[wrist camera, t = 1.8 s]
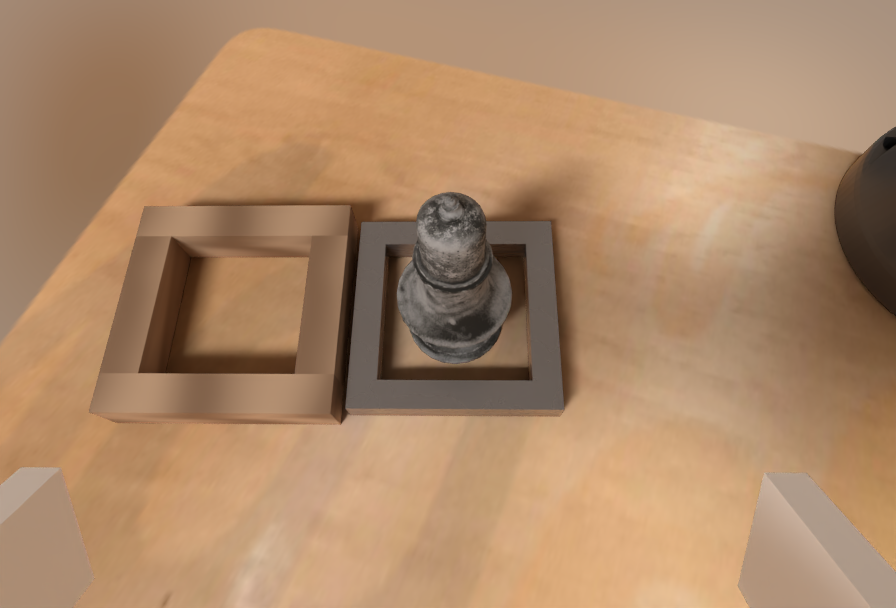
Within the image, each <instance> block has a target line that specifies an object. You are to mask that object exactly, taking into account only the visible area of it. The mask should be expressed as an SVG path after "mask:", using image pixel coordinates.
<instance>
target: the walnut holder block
mask: <svg viewBox="0 0 896 608" xmlns="http://www.w3.org/2000/svg"><path fill="white" fill-rule="evenodd" d="M357 236H358V226H357V223H356V220H355V217H354V214H353V211H352V208H351V205H292V206H144V210H143V213H142V217H141V221H140V224H139V228H138V232H137V235H136V239H135V243H134V246H133V250H132V254H131V257H130V261H129V265H128V269H127V272H126V276H125V280H124V283H123V287H122V291H121V294H120V298H119V302H118V305H117V309H116V313H115V317H114V320H113V324H112V328H111V331H110V335H109V339H108V342H107V346H106V350H105V353H104V357H103V361H102V364H101V368H100V372H99V376H98V379H97V383H96V387H95V390H94V394H93V398H92V401H91V405H90V409H89V413H92V414H94V415H97V416H100V417H103V418H105V419H108V420H111V421H113V422H116V423H204V424H341V416H342V404H343V393H344V382H345V371H346V360H347V348H348V337H349V326H350V315H351V304H352V292H353V281H354V270H355V259H356V247H357ZM191 257H309V263H308V271H307V279H306V287H305V295H304V303H303V311H302V319H301V327H300V335H299V342H298V350H297V358H296V366H295V374H179V373H165V372H166V368H167V363H168V359H169V354H170V349H171V345H172V340H173V336H174V331H175V327H176V322H177V318H178V313H179V309H180V304H181V300H182V295H183V291H184V286H185V282H186V277H187V273H188V268H189V264H190V259H191Z"/></svg>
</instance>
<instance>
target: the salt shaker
mask: <svg viewBox="0 0 896 608" xmlns="http://www.w3.org/2000/svg"><path fill="white" fill-rule="evenodd" d="M486 227H487V224H486V218H485V215H484V212H483V210H482V209H481V207H480V205H479V204H478V203H477V202H476V201H475V200H473V199H472V198H470V197H469V196H466V195H464V194H461V193H454V192H448V193H441V194H438V195H435V196H433V197H431V198H430V199H428V200H427V201H426V202H425V203H424V204H423V205H422V206H421V208H420V210H419V212H418V215H417V220H416V229H417V236H418V240H417V242H416V244H415V246H414V250H413V255H412V259H413V260H412V261H411V262H410V263H409V264H408V265H407V266H406V268H405V270H404V272H403V274H402V275H401V277H400V279H399V284H398V289H397V302H398V308H399V311H400V313H401V316H402V318H403V321H404V322H405V323H406V325H407V326H408V327H409V328H410V332H411V334H412V337H413V339H414V341H415V343H416V344H417V345H418V347H419V348H420V349H421V350H422V351H423V352H424V353H426V354H427V355H428V356H430V357H431V358H433V359H436V360H438V361H441V362H444V363H452V364H459V363H467V362H470V361H472V360H475V359H477V358H480V357H481V356H482V355H484V354H485V353H486V352H488V351H489V350H490V349H491V348H492V346H493V345H494V344H495V342H496V341H497V339H498V336H499V334H500V332H501V326H502V324H503V323H504V321H505V320H506V317H507V315H508V312H509V310H510V308H511V300H512V289H511V283H510V279H509V277H508V275H507V273H506V271H505V269H504V267H503V266H502V265H501V264H500V263H499V261H498V260H497V259H496V258H495V257H494V256H493V253H492V248H491V246H490V244H489V242H488V240H487V239H486Z"/></svg>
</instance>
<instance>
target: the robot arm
mask: <svg viewBox="0 0 896 608" xmlns="http://www.w3.org/2000/svg"><path fill="white" fill-rule="evenodd" d="M835 220H836V227H837V232H838V236H839V240H840V242H841V245H842V248H843V250H844V253H845V255H846V257H847V259H848V261H849V263H850V265H851V266H852V268H853V269H854V271H855V273H856V274H857V275H858V277H859V278H860V280H861V281H862V282H863V284H864V285H865V286H866V287H867V288H868V290H869V291H870V292H871V293H872V294H873V295H874V296H875V297H876V298H877V299H878V300H879V301H880V302H881V303H882V304H883V305H884V306H885V307H886V308H887V309H888V310H890V311H891V312H892V313H893V314H894V315H896V127H894V128H893V129H891V130H890V131H888V132H887V133H886V134H884V135H883V136H881V137H880V138H879V139H878V140H877V141H876V142H875V143H873V145H872V146H871V147H870V148H868V149H867V150H866V151H865V152H864V153H863V154H862V155H861V156H860V157H859V158H858V159H857V160H856V161H855V162H854V164H853V165H852V166H851V167H850V168H849V170H848V171H847V172H846V174H845V176H844V177H843V179H842V181H841V184H840V186H839V189H838V192H837V197H836V203H835ZM94 579H95V578H94V575H93V572H92V569H91V565H90V562H89V559H88V555H87V552H86V549H85V546H84V542H83V539H82V536H81V532H80V529H79V526H78V522H77V519H76V516H75V513H74V509H73V506H72V503H71V499H70V496H69V493H68V490H67V486H66V483H65V480H64V476H63V473H62V470H61V468H40V467H21V468H20V469H18V470H17V471H16V472H15V473H14V474H13V475H12V476H10V477H9V478H8V479H7V480H6V481H5V482H3V483H2V484H1V485H0V608H73V607H74V606H75V604H76V603H77V601H78V600H79V599H80V597H81V596H82V595H83V593H84V592H85V591H86V589H87V588H88V587H89V585H90V584H91V583H92V581H93V580H94ZM738 587H739V589H740V591H741V593H742V595H743V596H744V598H745V600H746V602H747V604H748V605H749V607H750V608H896V572H895V571H894V570H893V568H892V567H891V566H890V565H889V564H888V563H887V562H886V561H885V560H884V558H883V557H882V556H881V555H880V554H879V553H878V552H877V551H876V550H875V549H874V547H873V546H872V545H871V544H870V543H869V542H868V541H867V540H866V539H865V537H864V536H863V535H862V534H861V533H860V532H859V531H858V530H857V529H856V527H855V526H854V525H853V524H852V523H851V522H850V521H849V520H848V519H847V517H846V516H845V515H844V514H843V513H842V512H841V511H840V510H839V509H838V507H837V506H836V505H835V504H834V503H833V502H832V501H831V500H830V499H829V497H828V496H827V495H826V494H825V493H824V492H823V491H822V490H821V489H820V488H819V486H818V485H817V484H816V483H815V482H814V481H813V480H812V479H811V478H810V476H809V475H808V474H807V473H764V476H763V480H762V484H761V488H760V493H759V497H758V501H757V506H756V510H755V514H754V518H753V523H752V527H751V531H750V536H749V540H748V544H747V548H746V553H745V557H744V561H743V565H742V570H741V574H740V578H739V583H738Z"/></svg>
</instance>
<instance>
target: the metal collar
mask: <svg viewBox="0 0 896 608" xmlns="http://www.w3.org/2000/svg"><path fill="white" fill-rule="evenodd" d="M486 224H487V227H486V239H487V240H488V242H489V244H490V246H491V248H492V253H493V256H494V257H521V256H523V257H524V278H525V300H526V321H527V343H528V364H529V381H527V380H381V377H382V361H383V345H384V329H385V313H386V296H387V280H388V264H389V257H412V255H413V250H414V246H415V244H416V242H417V240H418V236H417V229H416V222H362V223H361V234H360V246H359V257H358V269H357V280H356V292H355V304H354V315H353V327H352V338H351V350H350V361H349V373H348V384H347V396H346V407H345V409H346V410H347V411H348V412H349V413H350V415H421V416H560V415H561V414H562V412H563V411H564V399H563V385H562V371H561V357H560V343H559V328H558V314H557V300H556V286H555V272H554V258H553V243H552V229H551V221H486Z"/></svg>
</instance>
